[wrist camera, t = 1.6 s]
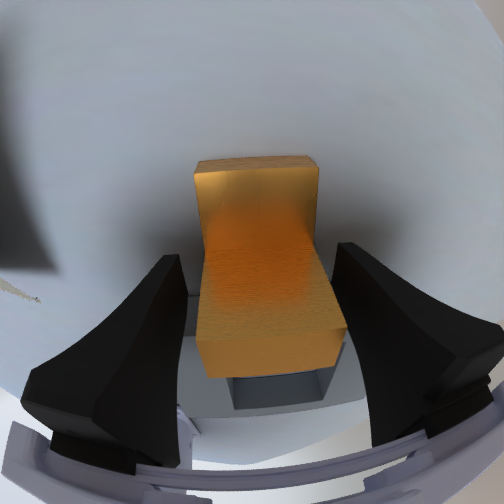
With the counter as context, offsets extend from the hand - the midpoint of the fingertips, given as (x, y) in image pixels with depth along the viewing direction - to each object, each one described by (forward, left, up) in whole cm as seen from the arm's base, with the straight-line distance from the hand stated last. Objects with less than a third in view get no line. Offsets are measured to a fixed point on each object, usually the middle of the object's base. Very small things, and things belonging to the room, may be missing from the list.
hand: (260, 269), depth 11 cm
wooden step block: (+1, 0, -2) cm, 2 cm away
